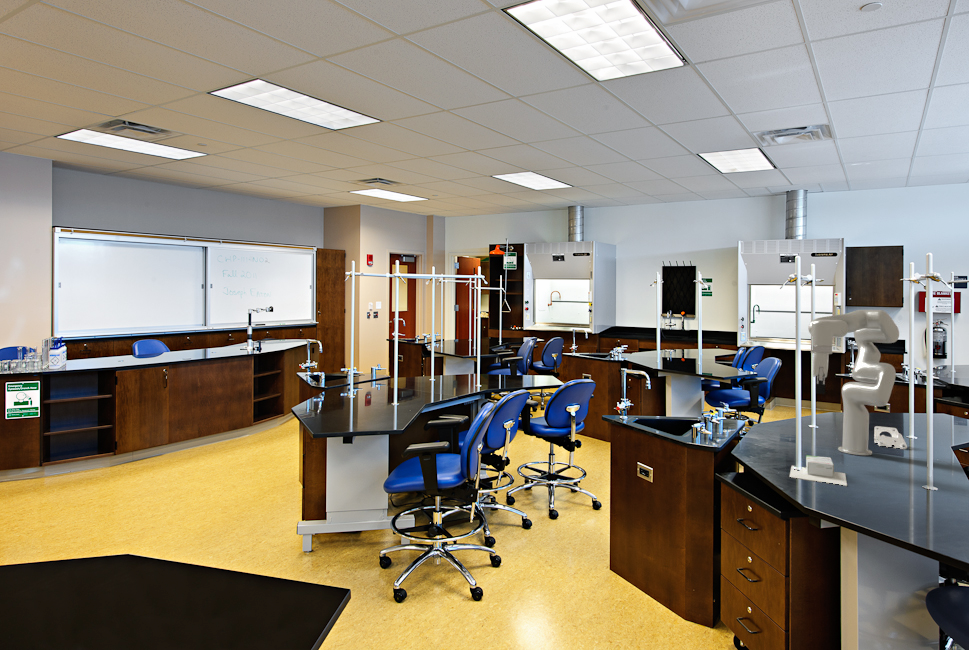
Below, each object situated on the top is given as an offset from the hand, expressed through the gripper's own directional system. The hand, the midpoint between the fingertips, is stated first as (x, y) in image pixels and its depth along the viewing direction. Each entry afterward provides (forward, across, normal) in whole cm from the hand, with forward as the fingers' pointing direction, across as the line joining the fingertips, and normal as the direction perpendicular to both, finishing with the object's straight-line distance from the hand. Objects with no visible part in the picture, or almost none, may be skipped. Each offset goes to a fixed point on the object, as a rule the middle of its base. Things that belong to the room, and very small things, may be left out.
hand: (820, 393), depth 224 cm
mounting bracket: (+30, -52, +29) cm, 67 cm away
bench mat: (+28, +25, 0) cm, 37 cm away
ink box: (+26, +14, 0) cm, 29 cm away
